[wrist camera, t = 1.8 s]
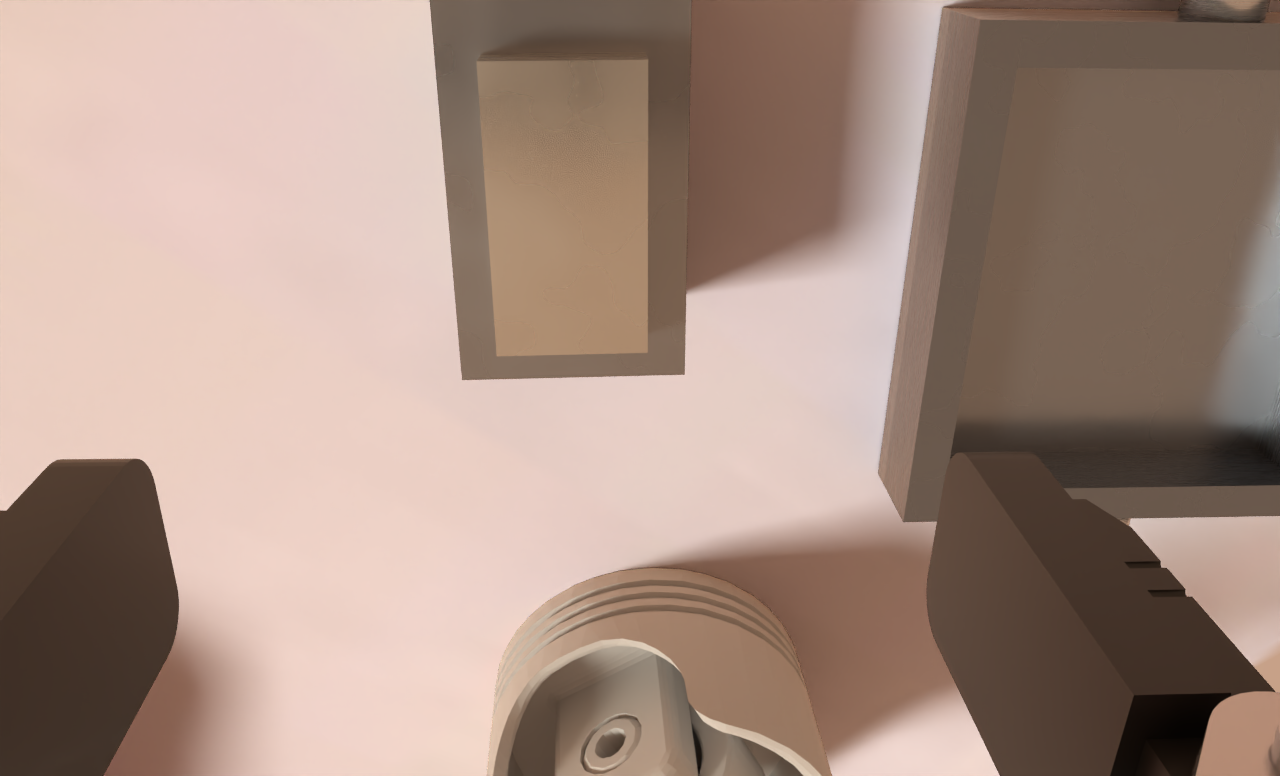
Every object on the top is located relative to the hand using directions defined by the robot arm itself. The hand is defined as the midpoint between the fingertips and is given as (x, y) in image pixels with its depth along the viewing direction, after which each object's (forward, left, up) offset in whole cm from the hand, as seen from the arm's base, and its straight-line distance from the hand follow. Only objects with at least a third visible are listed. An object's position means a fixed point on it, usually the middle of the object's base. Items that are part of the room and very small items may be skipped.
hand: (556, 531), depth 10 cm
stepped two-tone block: (0, 0, -17) cm, 17 cm away
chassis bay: (+3, +15, -17) cm, 23 cm away
